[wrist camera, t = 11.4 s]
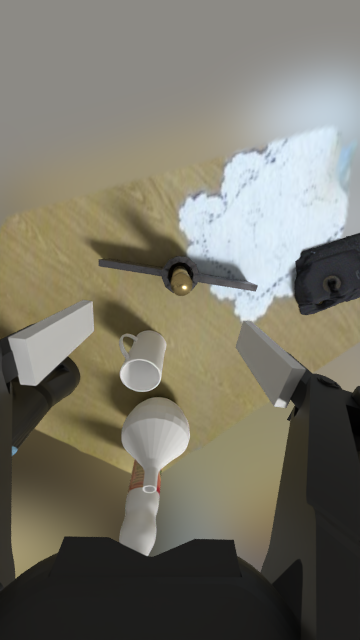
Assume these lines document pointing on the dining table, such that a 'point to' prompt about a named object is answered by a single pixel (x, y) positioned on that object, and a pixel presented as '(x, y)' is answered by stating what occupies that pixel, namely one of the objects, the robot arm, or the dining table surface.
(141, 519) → the fruit juice
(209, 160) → the dining table surface
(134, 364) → the mug
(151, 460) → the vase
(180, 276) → the pin
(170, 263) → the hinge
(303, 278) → the dark slate chunk
